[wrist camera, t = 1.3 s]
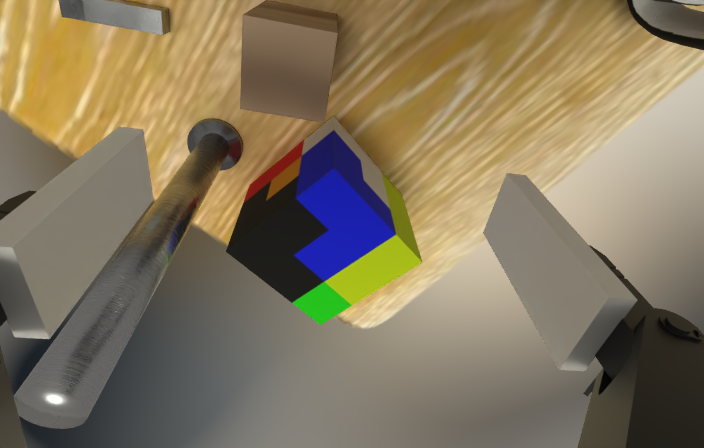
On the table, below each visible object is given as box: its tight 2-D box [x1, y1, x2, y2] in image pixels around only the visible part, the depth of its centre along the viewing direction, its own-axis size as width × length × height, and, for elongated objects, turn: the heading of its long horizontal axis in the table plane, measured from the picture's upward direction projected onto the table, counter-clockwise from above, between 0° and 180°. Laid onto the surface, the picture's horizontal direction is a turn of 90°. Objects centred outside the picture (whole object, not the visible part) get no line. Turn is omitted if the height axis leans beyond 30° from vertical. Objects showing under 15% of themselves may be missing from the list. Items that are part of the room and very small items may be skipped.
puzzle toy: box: [226, 116, 422, 325], centre depth 33 cm, size 10×10×10 cm
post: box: [14, 119, 243, 429], centre depth 24 cm, size 4×4×24 cm
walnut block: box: [240, 0, 338, 123], centre depth 26 cm, size 5×5×9 cm
